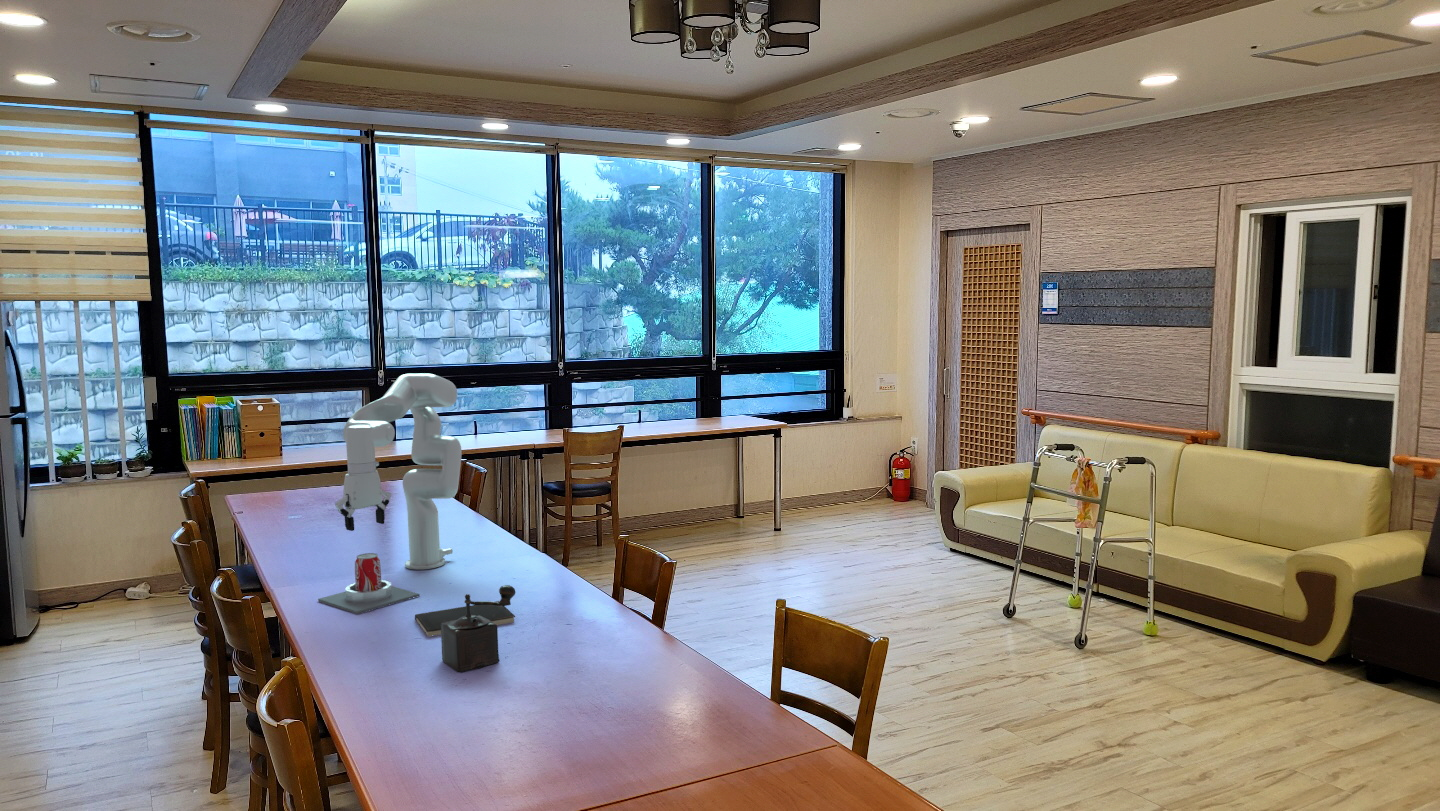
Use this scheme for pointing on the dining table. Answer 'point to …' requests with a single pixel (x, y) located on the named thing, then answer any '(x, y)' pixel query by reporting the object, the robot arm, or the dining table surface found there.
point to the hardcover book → (434, 619)
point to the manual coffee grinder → (473, 637)
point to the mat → (357, 608)
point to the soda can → (367, 572)
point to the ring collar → (368, 593)
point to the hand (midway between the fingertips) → (365, 526)
